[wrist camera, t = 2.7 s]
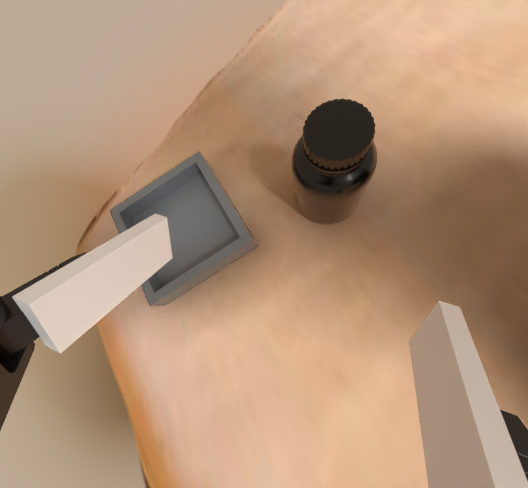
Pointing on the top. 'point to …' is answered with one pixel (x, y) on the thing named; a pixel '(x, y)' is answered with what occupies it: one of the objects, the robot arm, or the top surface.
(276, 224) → the top surface
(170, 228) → the tray
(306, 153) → the supplement bottle
